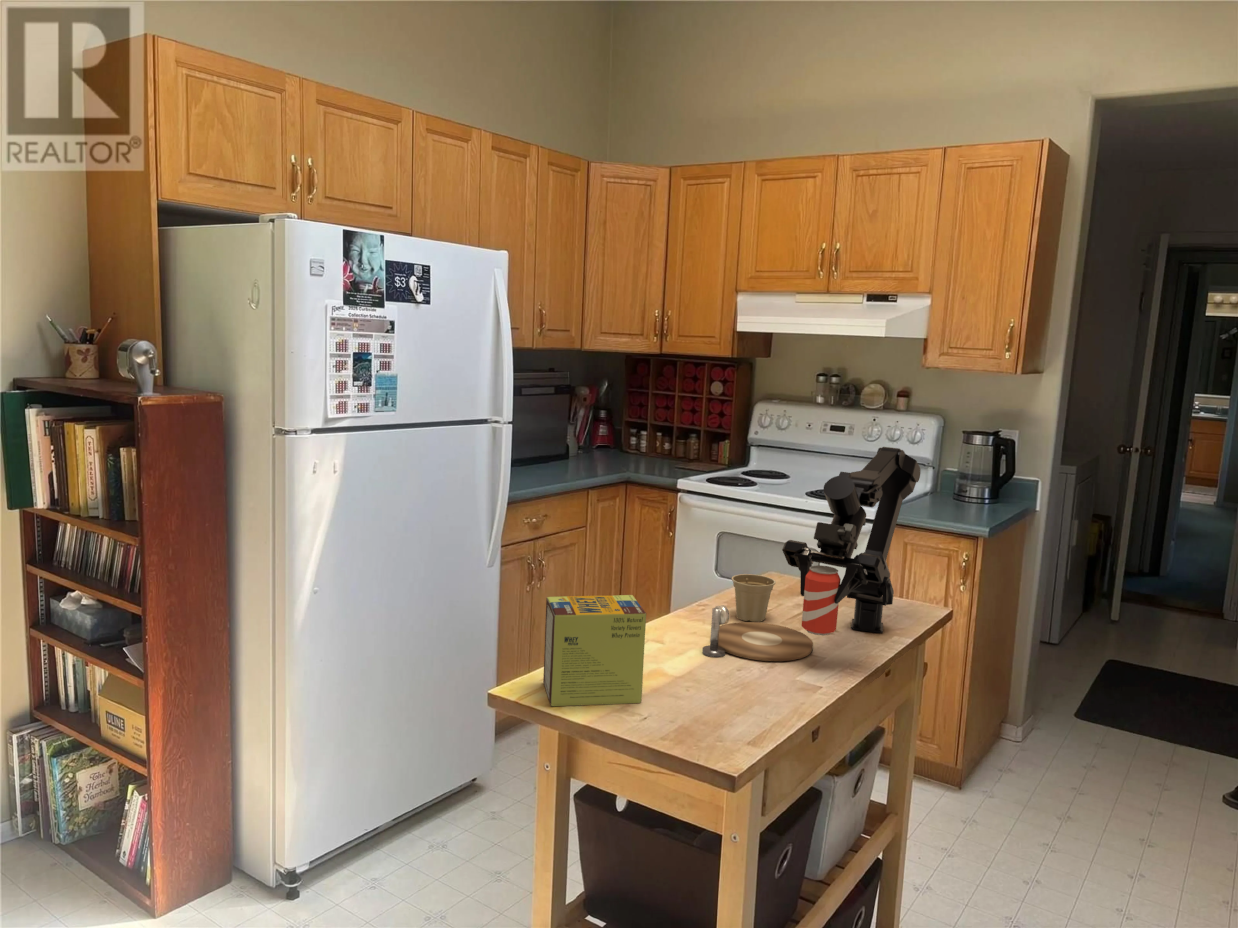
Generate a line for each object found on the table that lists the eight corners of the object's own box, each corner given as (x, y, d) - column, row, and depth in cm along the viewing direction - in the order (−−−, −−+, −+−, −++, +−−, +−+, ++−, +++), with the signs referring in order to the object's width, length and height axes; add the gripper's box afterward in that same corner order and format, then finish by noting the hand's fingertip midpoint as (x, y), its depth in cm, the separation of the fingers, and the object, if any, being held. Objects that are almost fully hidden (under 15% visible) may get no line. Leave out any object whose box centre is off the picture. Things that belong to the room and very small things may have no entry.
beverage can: (800, 624, 173) (805, 563, 171) (834, 627, 172) (840, 566, 170) (801, 634, 167) (807, 572, 165) (837, 638, 166) (842, 575, 164)
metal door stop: (710, 658, 171) (713, 611, 169) (697, 650, 175) (700, 604, 173) (729, 655, 173) (733, 608, 171) (716, 647, 177) (719, 602, 175)
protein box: (642, 703, 149) (647, 612, 147) (550, 707, 146) (553, 614, 143) (628, 679, 159) (633, 594, 157) (541, 682, 156) (545, 595, 153)
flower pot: (741, 608, 203) (744, 571, 202) (780, 617, 198) (783, 579, 196) (721, 618, 195) (723, 579, 194) (760, 628, 190) (763, 588, 189)
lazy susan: (720, 621, 192) (720, 616, 192) (816, 634, 187) (816, 629, 187) (702, 651, 173) (702, 647, 173) (808, 667, 168) (808, 662, 168)
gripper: (789, 498, 174) (761, 565, 166) (885, 513, 164) (859, 585, 156) (802, 531, 181) (776, 597, 174) (895, 547, 171) (870, 618, 164)
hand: (818, 598), depth 167 cm, fingers closed on beverage can, 6 cm apart
